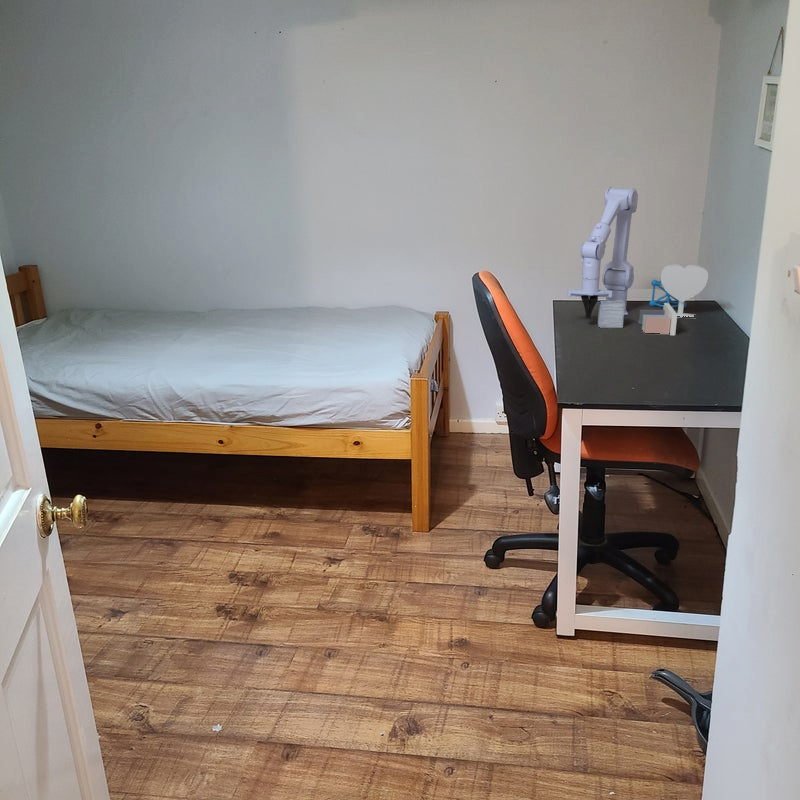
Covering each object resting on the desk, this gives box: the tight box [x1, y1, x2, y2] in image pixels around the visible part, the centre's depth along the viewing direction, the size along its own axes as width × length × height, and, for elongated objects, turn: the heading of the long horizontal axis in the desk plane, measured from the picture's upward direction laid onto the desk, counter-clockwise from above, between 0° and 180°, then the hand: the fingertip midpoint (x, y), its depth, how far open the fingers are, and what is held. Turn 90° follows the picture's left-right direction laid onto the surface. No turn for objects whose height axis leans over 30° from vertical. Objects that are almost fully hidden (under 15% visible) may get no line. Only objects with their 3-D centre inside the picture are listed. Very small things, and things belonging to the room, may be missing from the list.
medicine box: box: [597, 299, 625, 329], centre depth 272 cm, size 8×4×9 cm, turn 84°
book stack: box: [637, 302, 678, 336], centre depth 269 cm, size 17×10×7 cm, turn 172°
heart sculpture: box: [660, 263, 709, 318], centre depth 283 cm, size 16×5×18 cm, turn 73°
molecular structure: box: [648, 279, 688, 309], centre depth 296 cm, size 10×10×10 cm
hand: (588, 317), depth 273 cm, fingers closed
